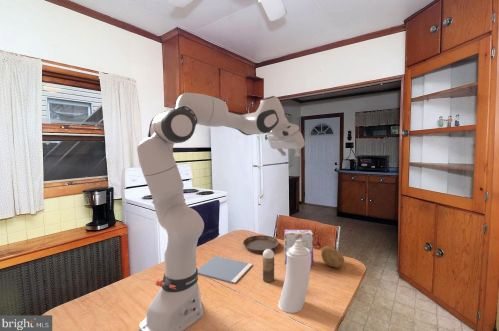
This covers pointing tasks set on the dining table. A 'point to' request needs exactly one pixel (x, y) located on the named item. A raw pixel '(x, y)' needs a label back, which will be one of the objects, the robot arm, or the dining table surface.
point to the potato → (332, 257)
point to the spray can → (295, 278)
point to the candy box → (299, 235)
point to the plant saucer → (260, 243)
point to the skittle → (268, 266)
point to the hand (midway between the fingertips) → (290, 155)
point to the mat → (224, 269)
